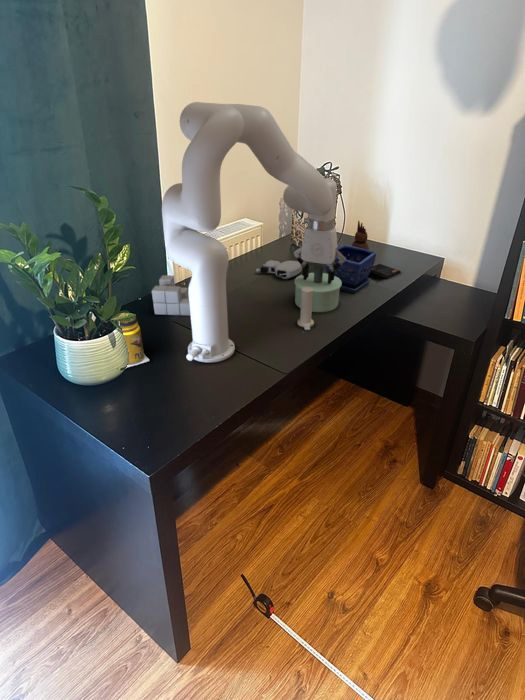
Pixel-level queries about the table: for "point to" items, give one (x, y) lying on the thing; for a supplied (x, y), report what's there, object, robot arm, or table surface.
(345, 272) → the flower pot
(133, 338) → the condiment
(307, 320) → the beige flanged cylinder
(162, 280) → the puzzle cube
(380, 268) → the calculator
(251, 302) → the table surface
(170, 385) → the table surface
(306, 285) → the lid
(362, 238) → the wooden figurine
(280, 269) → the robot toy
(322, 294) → the bowl
